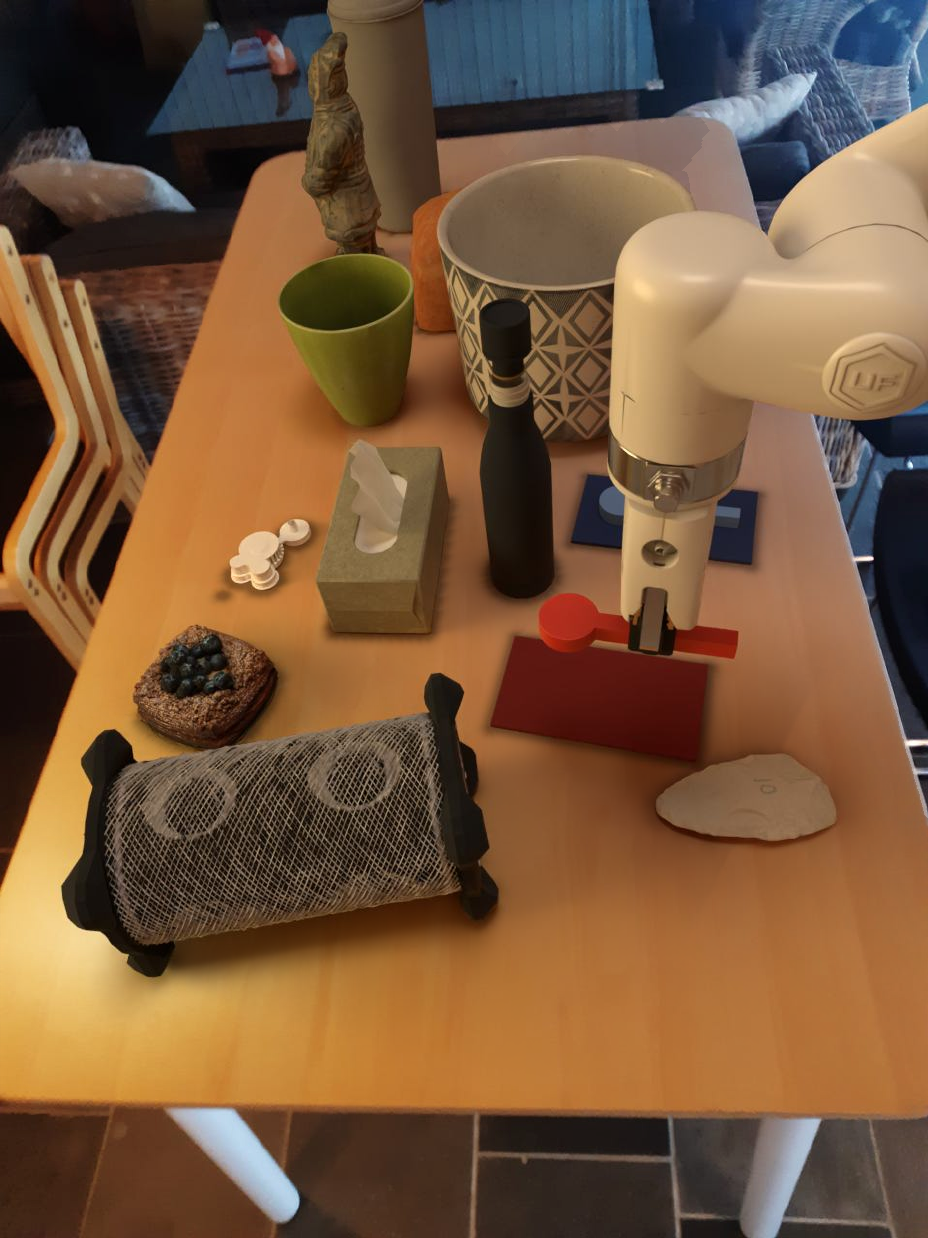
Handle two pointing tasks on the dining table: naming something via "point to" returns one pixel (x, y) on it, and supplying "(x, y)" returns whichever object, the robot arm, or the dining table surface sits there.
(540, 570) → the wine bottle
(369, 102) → the canister
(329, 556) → the tissue box
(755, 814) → the stone
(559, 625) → the red spoon
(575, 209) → the planter
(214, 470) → the dining table surface
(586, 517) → the navy mat
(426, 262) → the bread
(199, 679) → the pastry
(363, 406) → the flower pot
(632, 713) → the maroon mat
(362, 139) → the statue
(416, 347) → the dining table surface
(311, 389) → the dining table surface
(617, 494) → the grey spoon
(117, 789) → the speaker
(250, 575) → the white lobed flat piece
